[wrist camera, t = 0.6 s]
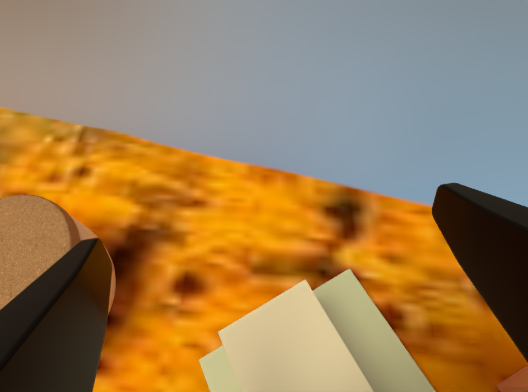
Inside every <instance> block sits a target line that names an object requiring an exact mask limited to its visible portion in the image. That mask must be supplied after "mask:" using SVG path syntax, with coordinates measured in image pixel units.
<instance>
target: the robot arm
mask: <svg viewBox="0 0 528 392" xmlns="http://www.w3.org/2000/svg"><path fill="white" fill-rule="evenodd" d="M432 215H433V218H434V220H435V222H436V223H437V225H438V227H439V229H440V231H441V233H442V234H443V236H444V238H445V240H446V242H447V243H448V245H449V247H450V249H451V251H452V253H453V254H454V256H455V258H456V259H457V261H458V263H459V264H460V266H461V267H462V269H463V270H464V272H465V273H466V275H467V276H468V278H469V279H470V280H471V282H472V283H473V285H474V286H475V288H476V289H477V290H478V292H479V293H480V295H481V296H482V298H483V299H484V300H485V302H486V303H487V305H488V306H489V308H490V309H491V311H492V312H493V313H494V315H495V316H496V318H497V319H498V321H499V322H500V323H501V325H502V326H503V328H504V329H505V331H506V332H507V333H508V335H509V336H510V338H511V339H512V341H513V342H514V344H515V345H516V346H517V348H518V349H519V351H520V352H521V354H522V355H523V356H524V358H525V359H526V361H527V362H528V207H525V206H522V205H519V204H516V203H513V202H510V201H508V200H505V199H502V198H499V197H496V196H493V195H490V194H487V193H484V192H481V191H478V190H475V189H472V188H469V187H467V186H464V185H460V184H458V183H449V184H443V185H440V186H439V187H438V189H437V192H436V196H435V199H434V203H433V207H432ZM111 278H112V263H111V260H110V257H109V255H108V253H107V251H106V249H105V247H104V244H103V242H102V241H101V240H100V239H99V238H91V239H85V240H81V241H80V242H79V243H77V244H76V245H75V246H74V247H73V248H72V249H70V250H69V251H68V252H67V253H66V254H65V255H63V256H62V257H61V258H60V259H59V260H58V261H56V262H55V263H54V264H53V265H52V266H51V267H49V268H48V269H47V270H46V271H45V272H44V273H43V274H41V275H40V276H39V277H38V278H37V279H36V280H34V281H33V282H32V283H31V284H30V285H29V286H27V287H26V288H25V289H24V290H23V291H22V292H20V293H19V294H18V295H17V296H16V297H15V298H13V299H12V300H11V301H10V302H9V303H8V304H6V305H5V306H4V307H3V308H2V309H1V310H0V392H92V391H93V387H94V382H95V377H96V373H97V368H98V364H99V359H100V355H101V350H102V345H103V341H104V336H105V331H106V326H107V319H108V310H109V299H110V288H111Z"/></svg>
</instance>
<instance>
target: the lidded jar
mask: <svg viewBox="0 0 528 392" xmlns="http://www.w3.org/2000/svg"><path fill="white" fill-rule="evenodd" d="M91 238H98V237H97V236H96V235H95V234H94V232H92V231H91V230H90V229H89V228H88V227H87V226H85V225H84V224H83V223H81V222H80V221H79V220H77V219H76V218H74V217H73V216H71V215H70V214H68V213H67V212H66V211H65V210H64V209H62V208H61V207H60V206H58V205H57V204H55V203H54V202H52V201H50V200H48V199H45V198H43V197H40V196H35V195H17V196H10V197H6V198H3V199H0V310H1V309H2V308H3V307H4V306H5V305H6V304H8V303H9V302H10V301H11V300H12V299H13V298H15V297H16V296H17V295H18V294H19V293H20V292H22V291H23V290H24V289H25V288H26V287H27V286H29V285H30V284H31V283H32V282H33V281H34V280H36V279H37V278H38V277H39V276H40V275H41V274H43V273H44V272H45V271H46V270H47V269H48V268H49V267H51V266H52V265H53V264H54V263H55V262H56V261H58V260H59V259H60V258H61V257H62V256H63V255H65V254H66V253H67V252H68V251H69V250H70V249H72V248H73V247H74V246H75V245H76V244H77V243H79V242H80V241H81V240H85V239H91ZM104 247H105V245H104ZM105 249H106V247H105ZM106 251H107V249H106ZM107 253H108V251H107ZM108 255H109V253H108ZM109 257H110V255H109ZM110 260H111V263H112V278H111V288H110V299H109V310H108V314H109V312H110V310H111V307H112V303H113V300H114V295H115V289H116V278H115V269H114V265H113V262H112V259H111V257H110Z"/></svg>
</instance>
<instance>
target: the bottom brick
mask: <svg viewBox="0 0 528 392" xmlns="http://www.w3.org/2000/svg"><path fill="white" fill-rule="evenodd" d="M218 334H219V336H220V338H221V341H222V343H223V346H224V348H225V350H226V353H227V355H228V358H229V360H230V362H231V365H232V367H233V370H234V372H235V374H236V377H237V379H238V382H239V384H240V386H241V389H242V391H243V392H374V391H373V390H372V388H371V386H370V385H369V383H368V382H367V380H366V378H365V377H364V375H363V373H362V372H361V370H360V368H359V367H358V365H357V363H356V362H355V360H354V359H353V357H352V355H351V354H350V352H349V350H348V349H347V347H346V345H345V344H344V342H343V341H342V339H341V337H340V336H339V334H338V332H337V331H336V329H335V327H334V326H333V324H332V322H331V321H330V319H329V318H328V316H327V314H326V313H325V311H324V309H323V308H322V306H321V304H320V303H319V301H318V300H317V298H316V296H315V295H314V293H313V291H312V290H311V288H310V286H309V285H308V283H307V281H306V280H303V281H302V282H300V283H298V284H297V285H295V286H293V287H292V288H290V289H289V290H287V291H285V292H284V293H282V294H280V295H279V296H277V297H275V298H274V299H272V300H270V301H269V302H267V303H265V304H264V305H262V306H260V307H259V308H257V309H255V310H254V311H252V312H250V313H249V314H247V315H245V316H244V317H242V318H240V319H239V320H237V321H235V322H234V323H232V324H230V325H229V326H227V327H225V328H224V329H222V330H220V331H219V332H218Z"/></svg>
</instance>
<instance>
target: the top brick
mask: <svg viewBox="0 0 528 392" xmlns="http://www.w3.org/2000/svg"><path fill="white" fill-rule="evenodd" d="M496 387H497V389H498V390H499V391H500V392H528V365H527V366H525V367H524V368H522V369H521V370H519V371H517V372H516V373H514V374H513V375H511V376H510V377H508V378H507V379H505V380H504V381H502V382H501V383H499V384H498V385H496Z"/></svg>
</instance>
